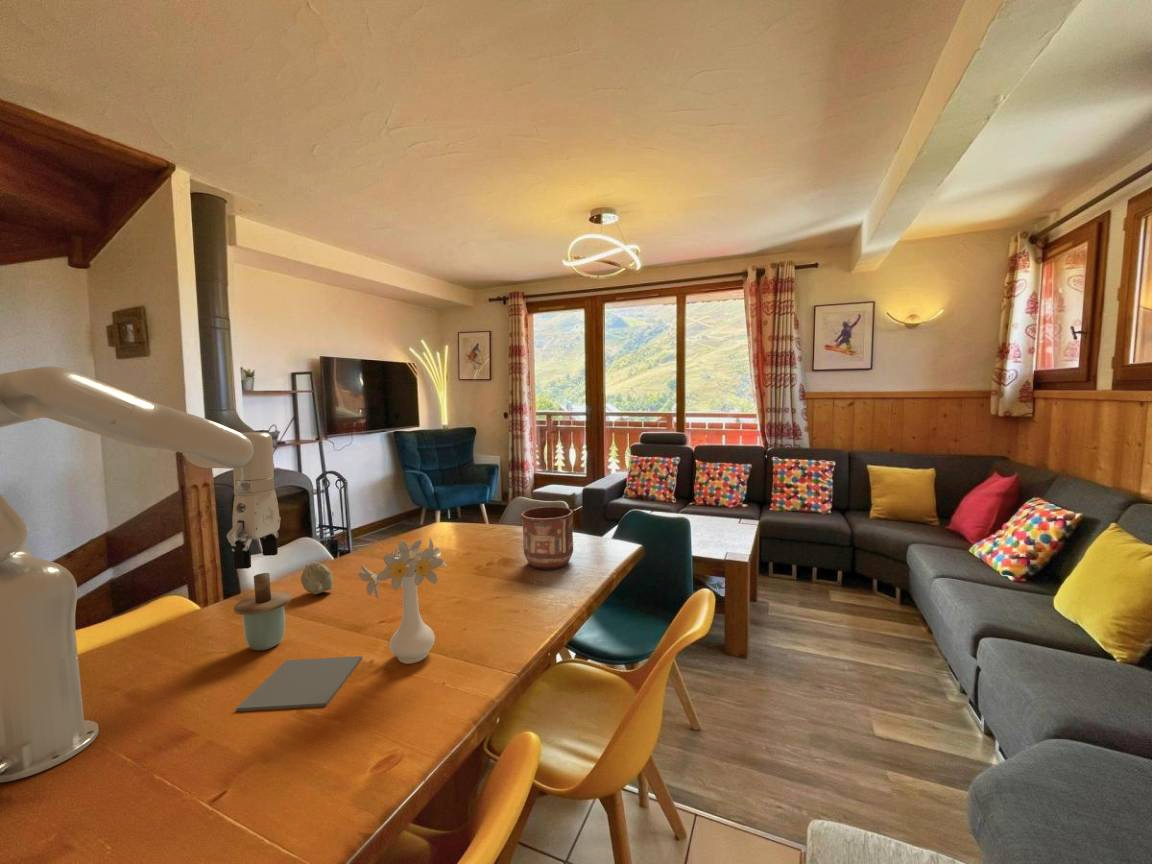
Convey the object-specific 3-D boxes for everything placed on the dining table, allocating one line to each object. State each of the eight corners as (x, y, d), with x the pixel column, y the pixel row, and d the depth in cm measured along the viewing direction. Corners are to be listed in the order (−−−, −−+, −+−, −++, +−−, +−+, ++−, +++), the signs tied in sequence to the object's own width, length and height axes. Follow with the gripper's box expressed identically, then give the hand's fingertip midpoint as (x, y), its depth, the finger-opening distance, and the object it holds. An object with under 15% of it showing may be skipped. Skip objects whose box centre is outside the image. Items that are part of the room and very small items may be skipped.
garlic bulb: (332, 597, 135) (330, 564, 134) (298, 603, 132) (296, 568, 131) (336, 586, 144) (334, 554, 143) (304, 591, 141) (302, 558, 140)
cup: (266, 656, 103) (263, 612, 103) (237, 653, 105) (233, 610, 104) (294, 639, 111) (291, 598, 111) (266, 636, 113) (263, 596, 112)
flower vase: (354, 672, 96) (347, 553, 95) (424, 633, 112) (419, 530, 111) (396, 690, 90) (389, 562, 88) (464, 646, 105) (459, 537, 104)
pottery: (518, 559, 164) (516, 508, 163) (566, 553, 169) (564, 504, 168) (528, 577, 147) (526, 521, 146) (581, 569, 152) (579, 515, 151)
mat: (326, 706, 85) (326, 702, 85) (236, 711, 85) (235, 708, 85) (362, 658, 101) (361, 656, 101) (286, 662, 101) (286, 660, 100)
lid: (274, 613, 102) (272, 583, 102) (222, 616, 102) (219, 585, 101) (300, 593, 113) (299, 565, 113) (254, 595, 113) (252, 568, 112)
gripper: (246, 492, 97) (249, 573, 98) (292, 481, 115) (295, 550, 115) (209, 493, 97) (212, 574, 97) (261, 481, 114) (263, 551, 115)
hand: (257, 561), depth 106 cm, fingers open, 9 cm apart
